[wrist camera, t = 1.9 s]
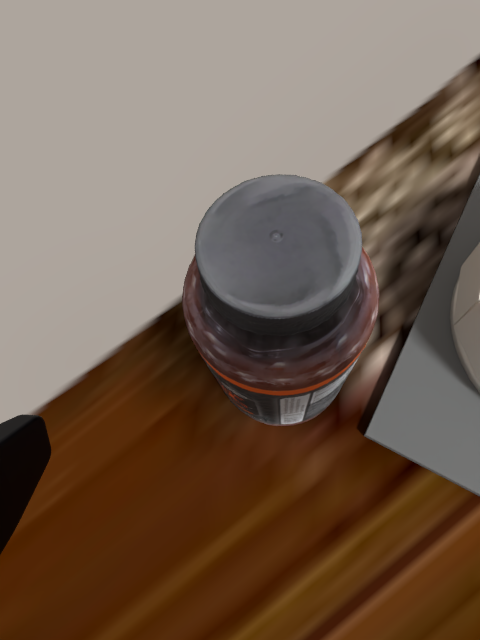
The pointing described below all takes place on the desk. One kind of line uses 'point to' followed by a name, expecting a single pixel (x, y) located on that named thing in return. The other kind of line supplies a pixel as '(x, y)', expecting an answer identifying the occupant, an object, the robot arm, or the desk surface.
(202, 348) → the supplement bottle
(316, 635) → the desk surface
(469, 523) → the desk surface
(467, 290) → the bowl
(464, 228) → the mat
